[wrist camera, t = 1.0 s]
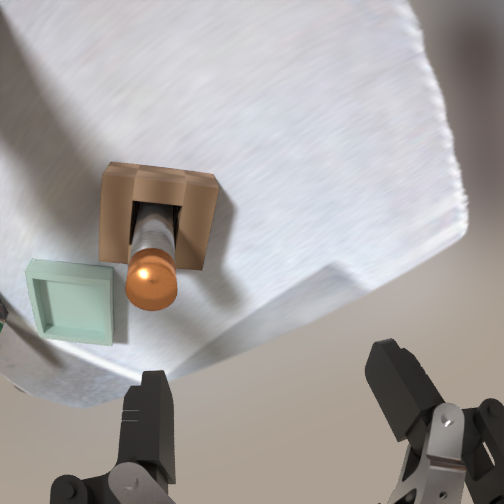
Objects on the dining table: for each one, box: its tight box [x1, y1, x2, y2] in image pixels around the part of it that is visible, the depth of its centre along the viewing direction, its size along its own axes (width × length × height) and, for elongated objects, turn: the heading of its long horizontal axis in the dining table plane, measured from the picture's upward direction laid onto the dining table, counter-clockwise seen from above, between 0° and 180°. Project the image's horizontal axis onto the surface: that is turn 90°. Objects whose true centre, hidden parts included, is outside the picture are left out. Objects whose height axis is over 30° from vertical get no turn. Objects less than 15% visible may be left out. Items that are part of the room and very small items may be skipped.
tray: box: [25, 259, 114, 346], centre depth 38 cm, size 12×12×3 cm
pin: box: [125, 201, 177, 311], centre depth 29 cm, size 4×4×16 cm
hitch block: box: [99, 162, 219, 270], centre depth 34 cm, size 12×10×5 cm
